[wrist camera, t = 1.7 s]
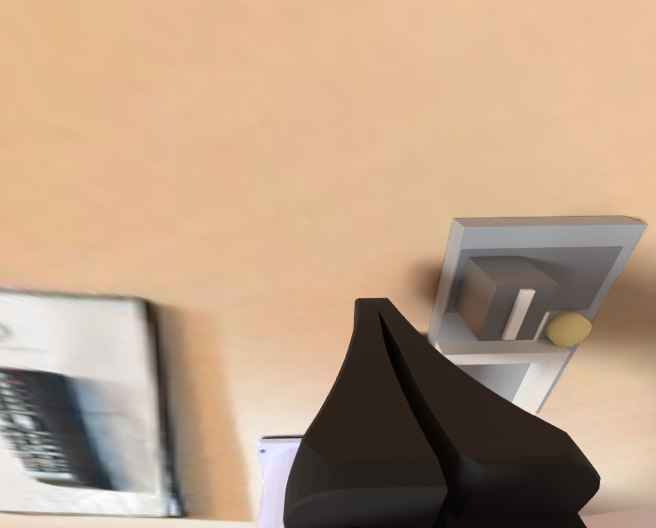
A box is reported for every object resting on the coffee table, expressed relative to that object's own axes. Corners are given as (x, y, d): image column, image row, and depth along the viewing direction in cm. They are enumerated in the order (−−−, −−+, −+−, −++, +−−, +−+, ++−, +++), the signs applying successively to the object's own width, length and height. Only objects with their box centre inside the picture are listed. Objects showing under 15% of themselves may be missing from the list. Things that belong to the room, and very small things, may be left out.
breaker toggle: (501, 306, 15) (535, 342, 12) (454, 307, 15) (479, 343, 12) (519, 255, 13) (562, 286, 11) (467, 256, 13) (499, 287, 11)
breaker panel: (527, 397, 20) (549, 427, 18) (413, 400, 20) (422, 430, 18) (622, 215, 14) (672, 232, 12) (453, 218, 14) (475, 235, 12)
